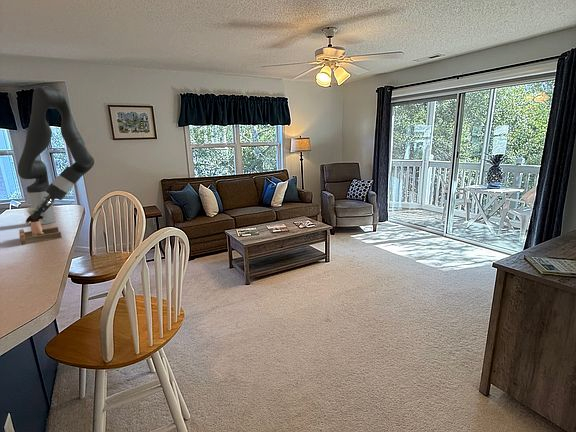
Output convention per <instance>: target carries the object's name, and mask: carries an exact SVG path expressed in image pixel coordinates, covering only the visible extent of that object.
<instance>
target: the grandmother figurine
mask: <svg viewBox="0 0 576 432" xmlns="http://www.w3.org/2000/svg"><path fill="white" fill-rule="evenodd" d="M36 210H37V209H36V208H32V207H31V206H30V207H29V208H28V209H27V212H28V214H29V216H27V218H26V220H25V224H24V226H26V227H27V226H28V225H29V223H30V231H32V234H33V235H32V236H37V234H39V235H41V234H44V233H43V232H42V229H43V227H42V224H41V223H40V221H39V219H42V220H43V221H45V219H44V218H43V216H41V215H40V216H39V217H38V218H37V219H36V220H34V219H32V218H31V216H32V215H33V214H34V212H35V211H36ZM30 215H31V216H30Z"/></svg>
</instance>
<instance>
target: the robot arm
mask: <svg viewBox="0 0 576 432" xmlns="http://www.w3.org/2000/svg"><path fill="white" fill-rule="evenodd" d="M31 102H32V103H31V114H30V121H29V124H28V128H27V132H26V137H25V143H24V146H23V150H22V152H21V155H20V158H19V161H18V163H17V174H18V176H19V177H20V178H21V179H23V180H34V179H35V181H33V183H31V184H30V185H28V186H26V193H27V196H28V200H29V204H30V208H31V207H32V208H36V209H37V210H36V211H35V212H34V214H33V215H32V216H31V215H30V214H29V216H31V218H32V219H34V220H36V219H37V218H38V217H39V216H40V215H41V216H43V218H44V219H45V221H43V220H42V219H39V221H40V223H41V225H48V224H52V223H55V222H56V221H57V220H56V216H55V211H54V206H53V204H54V203H55V200H56V199H57V200H58V201H62V200H63V199H65V197H66V196H67V195H68V194H69V192H71V190H72V189H73V188H74V186H75V185H76V183H77V182H78V181H80V179H81V178H82V177H83V176H84V175H85V174H87V173H88V172H89V171H91V169H92V168H93V167H94V165H95V158H94V157H93V156H92V155H91V154H90V152H89V150H88V148H87V147H86V145H85V141H84V139H83V137H82V136H81V134H80V132H79V130H78V128H77V126H76V123H75V120H74V117H73V114H72V111H71V108H70V105H69V102H68V100H67V97H66V95H65V94H64V92H63V91H62V90H61V89H59V88H56V87H55V88H54V87H47V86H37V87H36V88H34V90H33V93H32V101H31ZM48 109H49V110H51V109H52V110H53V109H54V110H57V111H58V112H59V114H60V117H61V122H60V123H61V124H60V134H61V137H62V138H63V141H64V142H65V144H66V146H67V147H68V149H69V151H70V154H71V156H72V158H73V160H74V163H73V164H71V166H67V167H65V168H64V170H62V171H61V173H59V175H58V176H57V177H55V178H54V180H53V181H52V182H50V181H49V176H48V169H47V167H46V166H47V165H46V164H45V163H44V161H42V160H36V159H37V158H38V156H40V155H41V154H42V153H44V151H45V150H46V149H47V148H48V147H49V146H50V144H51V142H52V141H51V140H52V137H53V136H52V135H53V133H52V132H53V131H52V128H51V126H50V124H49V123H48V121H47V119H46V115H47V110H48Z"/></svg>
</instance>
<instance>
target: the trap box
mask: <svg viewBox="0 0 576 432" xmlns="http://www.w3.org/2000/svg"><path fill="white" fill-rule="evenodd" d="M18 230H19V233H18V235H19V240H20V244H21V245H22V246H24V245H29V244H34V243H40V242H45V241H51V240H56V239H61V238H62V237H63V236H62V233H61V231H59V227H58V226H56V227H55V226H54V227H49V228H42V232H43V233H44V234H41V235H39V234H37V236H32V235H33V234H32V231H31V230H30V231H25V230H24V229H23V228H22V229H18Z"/></svg>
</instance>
